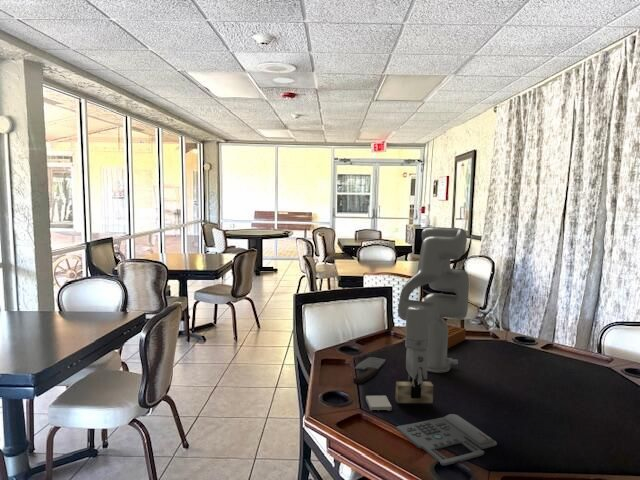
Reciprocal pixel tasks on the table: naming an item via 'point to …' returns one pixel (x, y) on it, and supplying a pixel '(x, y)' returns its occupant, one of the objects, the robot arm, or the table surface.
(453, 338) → the brick
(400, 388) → the tan wooden block
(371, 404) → the tile
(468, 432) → the office telephone
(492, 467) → the table surface
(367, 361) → the cleaver
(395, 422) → the table surface
